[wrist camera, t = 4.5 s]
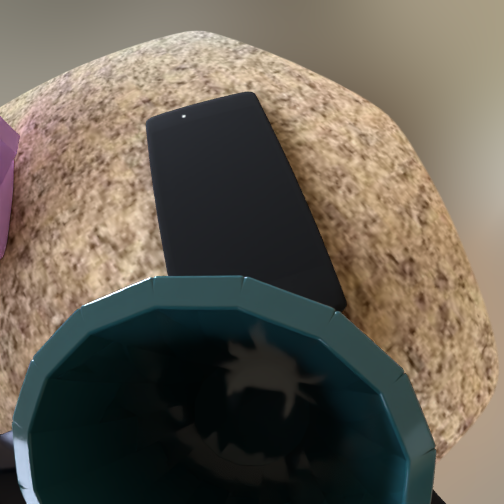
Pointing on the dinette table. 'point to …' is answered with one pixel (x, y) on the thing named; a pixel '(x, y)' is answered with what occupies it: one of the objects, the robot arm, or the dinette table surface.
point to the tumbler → (217, 403)
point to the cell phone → (235, 200)
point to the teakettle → (6, 178)
